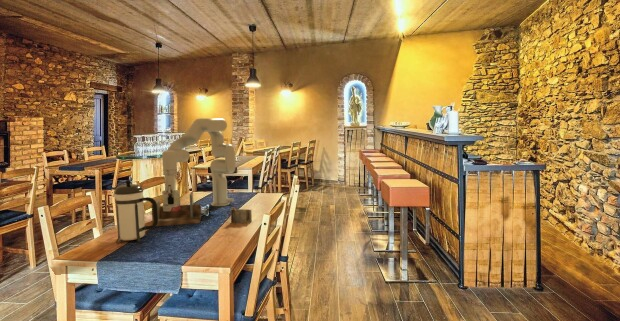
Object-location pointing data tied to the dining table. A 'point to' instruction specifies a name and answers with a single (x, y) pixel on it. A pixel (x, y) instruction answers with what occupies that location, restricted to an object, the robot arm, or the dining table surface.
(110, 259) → the dining table surface
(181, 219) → the walnut shelf
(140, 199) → the coffee press
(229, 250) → the dining table surface
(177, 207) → the ink box
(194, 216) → the bookend
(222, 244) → the dining table surface
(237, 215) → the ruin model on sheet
